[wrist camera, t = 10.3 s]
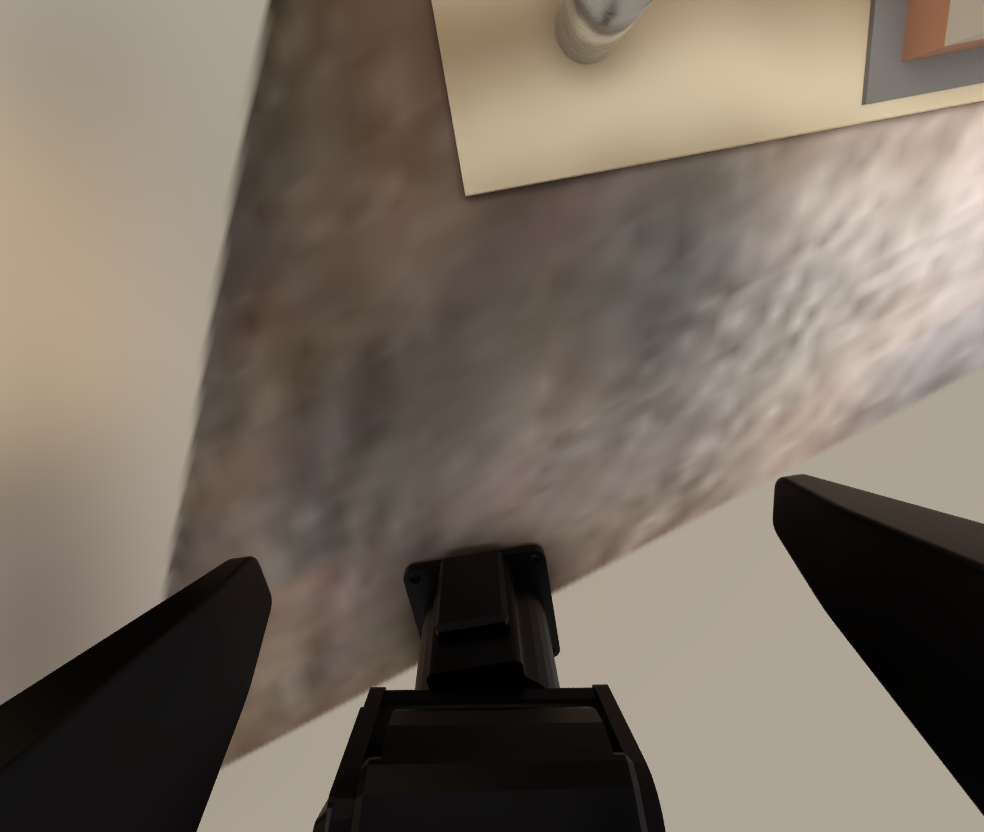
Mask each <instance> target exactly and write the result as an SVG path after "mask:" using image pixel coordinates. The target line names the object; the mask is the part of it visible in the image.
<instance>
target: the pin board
mask: <svg viewBox="0 0 984 832" xmlns="http://www.w3.org/2000/svg"><path fill="white" fill-rule="evenodd" d="M560 3H561V0H432V6H433V12H434V18H435V23H436V29H437V35H438V41H439V46H440V52H441V58H442V64H443V69H444V75H445V81H446V87H447V92H448V98H449V104H450V110H451V115H452V121H453V127H454V133H455V138H456V144H457V150H458V156H459V161H460V167H461V173H462V179H463V184H464V190H465V196H466V197H468V196H474V195H479V194H485V193H490V192H495V191H501V190H506V189H512V188H517V187H522V186H528V185H533V184H539V183H544V182H550V181H555V180H560V179H566V178H571V177H577V176H582V175H587V174H593V173H598V172H604V171H609V170H615V169H620V168H625V167H631V166H636V165H642V164H647V163H652V162H658V161H663V160H669V159H674V158H680V157H685V156H690V155H696V154H701V153H707V152H712V151H717V150H723V149H728V148H734V147H739V146H745V145H750V144H755V143H761V142H766V141H772V140H777V139H782V138H788V137H793V136H799V135H804V134H809V133H815V132H820V131H826V130H831V129H837V128H842V127H847V126H853V125H858V124H864V123H869V122H874V121H880V120H885V119H891V118H896V117H902V116H907V115H912V114H918V113H923V112H929V111H934V110H939V109H945V108H950V107H956V106H961V105H967V104H972V103H977V102H983V101H984V46H982V47H977V48H972V49H967V50H961V51H956V52H951V53H946V54H940V55H935V56H930V57H925V58H919V59H914V60H909V61H904V62H902V54H903V45H904V36H905V27H906V18H907V9H908V0H653V1H652V3H651V4H650V5H649V6H648V7H647V9H646V10H645V11H644V12H643V14H642V15H641V16H640V17H639V18H638V20H637V21H636V22H635V23H634V24H633V26H632V27H631V28H630V29H629V30H628V32H627V33H626V34H625V35H624V36H623V38H622V39H621V40H620V41H619V42H618V44H617V45H616V46H615V47H614V49H613V50H612V51H611V52H610V53H609V54H608V55H607V56H606V57H605V58H604V59H602V60H600V61H598V62H596V63H593V64H580V63H577V62H574V61H573V60H571V59H570V58H568V57H567V56H566V55H565V54H564V52H563V51H562V50H561V48H560V46H559V44H558V41H557V38H556V33H555V19H556V14H557V11H558V8H559V5H560Z"/></svg>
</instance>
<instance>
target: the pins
mask: <svg viewBox="0 0 984 832" xmlns="http://www.w3.org/2000/svg"><path fill="white" fill-rule="evenodd" d="M652 1H653V0H561V3H560V5H559V8H558V11H557V14H556V19H555V33H556V38H557V41H558V44H559V46H560V48H561V50H562V51H563V52H564V54H565V55H566V56H567V57H568V58H570V59H571V60H573V61H574V62H577V63H580V64H593V63H596V62H598V61H600V60H602V59H604V58H605V57H606V56H607V55H608V54H609V53H610V52H611V51H612V50H613V49H614V47H615V46H616V45H617V44H618V42H619V41H620V40H621V39H622V38H623V36H624V35H625V34H626V33H627V32H628V30H629V29H630V28H631V27H632V26H633V24H634V23H635V22H636V21H637V20H638V18H639V17H640V16H641V15H642V14H643V12H644V11H645V10H646V9H647V7H648V6H649V5H650V4H651V3H652Z"/></svg>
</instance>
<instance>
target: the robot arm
mask: <svg viewBox="0 0 984 832" xmlns="http://www.w3.org/2000/svg"><path fill="white" fill-rule="evenodd" d="M773 525H774V528H775V531H776V533H777V535H778V537H779V538H780V540H781V542H782V543H783V545H784V547H785V548H786V550H787V551H788V553H789V554H790V556H791V558H792V559H793V561H794V563H795V564H796V566H797V567H798V569H799V571H800V572H801V574H802V575H803V577H804V579H805V580H806V582H807V583H808V585H809V587H810V588H811V590H812V591H813V593H814V595H815V596H816V598H817V599H818V601H819V602H820V604H821V605H822V607H823V608H824V610H825V611H826V612H827V614H828V615H829V616H830V618H831V619H832V621H833V622H834V623H835V624H836V626H837V627H838V628H839V630H840V631H841V632H842V634H843V635H844V636H845V638H846V639H847V640H848V641H849V643H850V644H851V645H852V646H853V648H854V649H855V650H856V652H857V653H858V654H859V655H860V657H861V658H862V659H863V661H864V662H865V663H866V665H867V666H868V667H869V668H870V670H871V671H872V672H873V674H874V675H875V676H876V677H877V679H878V680H879V681H880V683H881V684H882V685H883V687H884V688H885V689H886V690H887V692H888V693H889V694H890V696H891V697H892V698H893V699H894V701H895V702H896V703H897V705H898V706H899V707H900V708H901V710H902V711H903V712H904V714H905V715H906V716H907V717H908V719H909V720H910V721H911V723H912V724H913V725H914V727H915V728H916V729H917V730H918V731H919V733H920V734H921V736H922V737H923V738H924V739H925V740H926V742H927V743H928V745H929V746H930V747H931V748H932V750H933V751H934V752H935V754H936V755H937V756H938V757H939V759H940V760H941V761H942V763H943V764H944V765H945V767H946V768H947V769H948V770H949V772H950V773H951V774H952V775H953V777H954V778H955V779H956V780H957V782H958V783H959V785H960V786H961V787H962V788H963V790H964V791H965V792H966V793H967V795H968V796H969V797H970V799H971V800H972V801H973V802H974V804H975V805H976V806H977V808H978V809H979V810H980V812H981V813H982V814H983V816H984V524H982V523H979V522H975V521H972V520H968V519H965V518H961V517H957V516H954V515H950V514H946V513H942V512H939V511H936V510H932V509H928V508H925V507H921V506H918V505H914V504H910V503H906V502H903V501H899V500H896V499H892V498H889V497H885V496H881V495H877V494H874V493H870V492H866V491H863V490H859V489H856V488H852V487H849V486H845V485H841V484H838V483H834V482H831V481H827V480H823V479H820V478H816V477H813V476H809V475H805V474H799V475H792V476H786V477H781V478H779V479H778V480H777V481H776V484H775V490H774V506H773ZM532 555H537V556H538V557H537V558H535V559H531V558H530V557H531V556H532ZM412 575H417V576H419V577H418V578H413V577H411V576H412ZM404 583H405V587H406V590H407V594H408V597H409V601H410V604H411V607H412V611H413V614H414V618H415V621H416V624H417V628H418V631H419V635H420V638H421V644H420V652H419V661H418V669H417V677H416V686H415V690H386V687H371V688H370V690H369V693H368V696H367V699H366V702H365V705H364V707H361V708H360V710H359V713H358V716H357V719H356V722H355V724H354V727H353V730H352V733H351V735H350V738H349V741H348V744H347V747H346V749H345V752H344V755H343V758H342V760H341V763H340V766H339V769H338V772H337V774H336V777H335V780H334V783H333V786H332V788H331V791H330V794H329V798H328V800H327V802H326V804H325V805H324V807H323V809H322V811H321V812H320V814H319V816H318V818H317V820H316V822H315V825H314V829H313V832H665V826H664V820H663V815H662V811H661V806H660V802H659V799H658V794H657V791H656V788H655V784H654V781H653V778H652V775H651V773H650V770H649V768H648V766H647V763H646V761H645V759H644V757H643V755H642V753H641V751H640V749H639V747H638V745H637V743H636V741H635V739H634V737H633V735H632V733H631V731H630V729H629V727H628V725H627V723H626V721H625V719H624V717H623V715H622V713H621V711H620V709H619V707H618V705H617V702H616V700H615V698H614V696H613V695H612V692H611V690H610V688H609V687H608V685H592V688H560V687H559V681H558V676H557V671H556V666H555V660H554V657H555V656H557V655H558V654H559V652H560V647H559V640H558V634H557V628H556V621H555V615H554V609H553V603H552V596H551V590H550V584H549V577H548V571H547V565H546V558H545V554H544V551H543V549H542V548H541V547H540V546H537V545H530V546H524V547H518V548H512V549H506V550H500V551H491V552H485V553H478V554H472V555H466V556H460V557H454V558H448V559H444V560H439V561H433V562H427V563H421V564H415V565H411V566H409V567H408V568H406V570H405V573H404ZM271 604H272V598H271V593H270V590H269V588H268V585H267V582H266V580H265V577H264V575H263V572H262V569H261V567H260V564H259V562H258V561H257V559H256V558H254V557H252V556H248V557H241V558H234V559H230V560H227V561H226V562H224V563H222V564H221V565H219V566H218V567H216V568H215V569H213V570H212V571H210V572H208V573H207V574H205V575H204V576H202V577H201V578H199V579H197V580H196V581H194V582H193V583H191V584H190V585H188V586H186V587H185V588H183V589H182V590H180V591H179V592H177V593H175V594H174V595H172V596H171V597H169V598H168V599H166V600H165V601H163V602H161V603H160V604H158V605H157V606H155V607H154V608H152V609H150V610H149V611H147V612H146V613H144V614H143V615H141V616H140V617H138V618H136V619H135V620H133V621H132V622H130V623H128V624H127V625H125V626H124V627H122V628H121V629H119V630H118V631H116V632H114V633H113V634H111V635H110V636H108V637H107V638H105V639H103V640H102V641H100V642H99V643H97V644H96V645H94V646H93V647H91V648H89V649H88V650H86V651H85V652H83V653H81V654H80V655H78V656H77V657H75V658H74V659H72V660H71V661H69V662H67V663H66V664H64V665H63V666H61V667H60V668H58V669H56V670H55V671H53V672H52V673H50V674H49V675H47V676H45V677H44V678H42V679H41V680H39V681H38V682H36V683H35V684H33V685H32V686H30V687H28V688H27V689H25V690H24V691H22V692H21V693H19V694H17V695H16V696H14V697H13V698H11V699H9V700H8V701H6V702H5V703H3V704H2V705H0V832H196V831H197V828H198V826H199V823H200V821H201V818H202V815H203V813H204V810H205V807H206V805H207V802H208V800H209V797H210V794H211V791H212V789H213V786H214V784H215V781H216V778H217V776H218V773H219V770H220V768H221V765H222V762H223V760H224V757H225V754H226V752H227V749H228V746H229V744H230V741H231V738H232V736H233V733H234V730H235V728H236V725H237V722H238V720H239V717H240V714H241V712H242V709H243V706H244V703H245V701H246V698H247V695H248V692H249V688H250V685H251V682H252V678H253V675H254V671H255V667H256V663H257V660H258V656H259V652H260V648H261V644H262V641H263V637H264V633H265V629H266V626H267V622H268V618H269V614H270V610H271Z"/></svg>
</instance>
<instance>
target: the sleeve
mask: <svg viewBox="0 0 984 832" xmlns="http://www.w3.org/2000/svg"><path fill="white" fill-rule="evenodd" d="M982 46H984V0H908V9H907V18H906V27H905V36H904V45H903V54H902V62H904V61H909V60H914V59H919V58H925V57H930V56H935V55H940V54H946V53H951V52H956V51H961V50H967V49H972V48H977V47H982Z"/></svg>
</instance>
